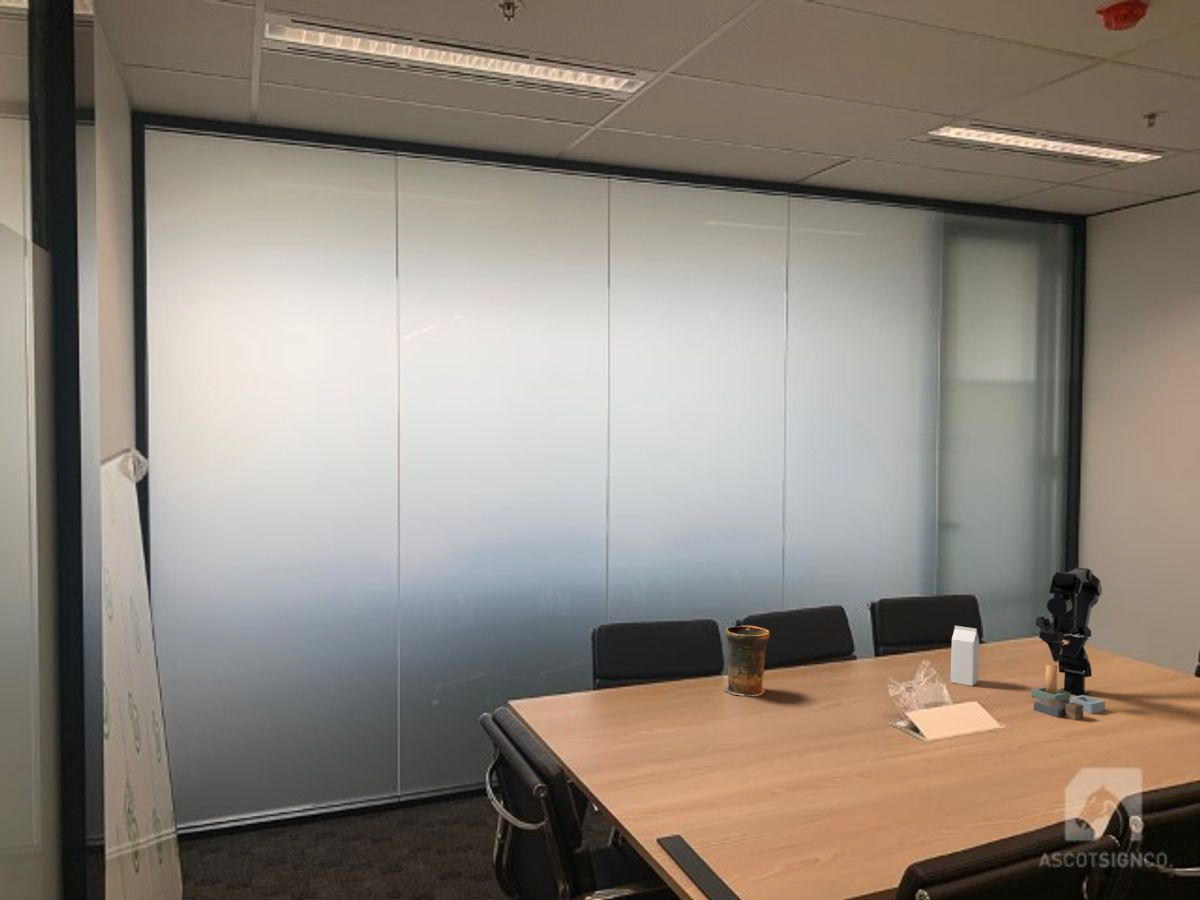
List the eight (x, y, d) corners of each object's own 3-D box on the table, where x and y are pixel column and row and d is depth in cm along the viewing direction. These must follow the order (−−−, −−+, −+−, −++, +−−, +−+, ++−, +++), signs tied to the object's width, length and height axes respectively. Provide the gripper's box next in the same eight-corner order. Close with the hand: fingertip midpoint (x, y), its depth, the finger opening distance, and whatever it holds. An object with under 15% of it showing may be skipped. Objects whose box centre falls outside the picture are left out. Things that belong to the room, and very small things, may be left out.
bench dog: (1073, 715, 263) (1073, 702, 263) (1083, 718, 261) (1083, 705, 260) (1065, 717, 261) (1065, 704, 261) (1074, 720, 259) (1075, 706, 259)
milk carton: (972, 686, 292) (973, 630, 292) (950, 682, 297) (951, 627, 296) (977, 682, 298) (979, 627, 298) (956, 678, 302) (957, 624, 302)
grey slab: (1050, 708, 271) (1050, 698, 271) (1074, 715, 264) (1075, 705, 264) (1033, 711, 268) (1033, 701, 268) (1057, 719, 261) (1057, 709, 261)
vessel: (769, 699, 274) (770, 635, 274) (723, 696, 276) (725, 633, 276) (767, 686, 288) (769, 626, 288) (724, 683, 291) (725, 624, 290)
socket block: (1082, 704, 274) (1083, 695, 274) (1104, 710, 268) (1105, 701, 268) (1069, 707, 271) (1069, 697, 271) (1091, 713, 265) (1091, 704, 265)
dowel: (1049, 694, 282) (1049, 664, 282) (1058, 697, 280) (1059, 666, 280) (1043, 696, 281) (1043, 665, 281) (1052, 698, 278) (1052, 667, 278)
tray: (1047, 693, 286) (1047, 686, 286) (1070, 700, 279) (1070, 692, 279) (1031, 696, 282) (1031, 689, 282) (1054, 703, 275) (1054, 695, 275)
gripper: (1060, 604, 290) (1058, 651, 290) (1024, 609, 281) (1023, 657, 281) (1092, 611, 280) (1091, 659, 280) (1056, 615, 271) (1055, 665, 271)
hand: (1064, 660), depth 278 cm, fingers open, 9 cm apart
